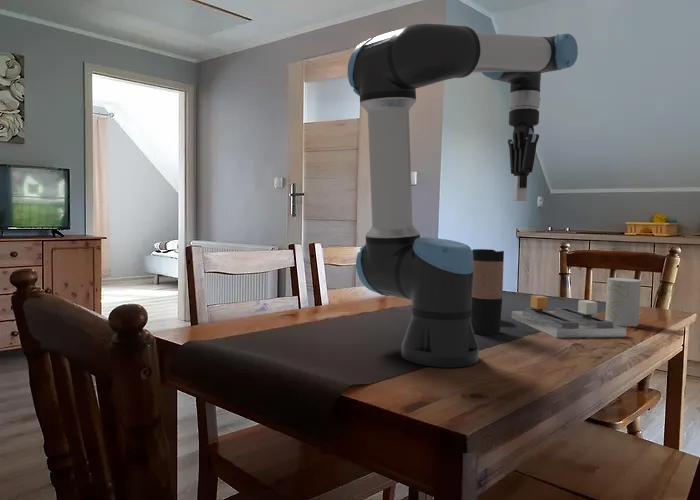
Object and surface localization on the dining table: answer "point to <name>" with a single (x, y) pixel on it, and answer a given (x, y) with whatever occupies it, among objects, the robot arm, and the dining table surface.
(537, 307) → the block
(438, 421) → the dining table surface
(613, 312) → the cup
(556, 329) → the console
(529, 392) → the dining table surface
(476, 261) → the travel mug
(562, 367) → the dining table surface
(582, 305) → the fader right
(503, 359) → the dining table surface
